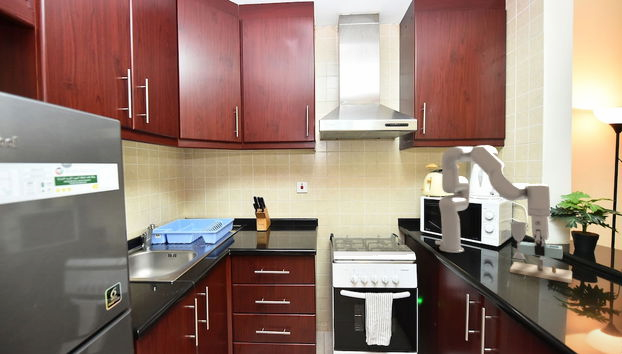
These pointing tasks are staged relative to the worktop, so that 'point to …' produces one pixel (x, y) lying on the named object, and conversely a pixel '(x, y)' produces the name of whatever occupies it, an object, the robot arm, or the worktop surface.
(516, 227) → the chalice
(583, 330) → the worktop surface
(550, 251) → the flange bar
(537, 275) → the post board
